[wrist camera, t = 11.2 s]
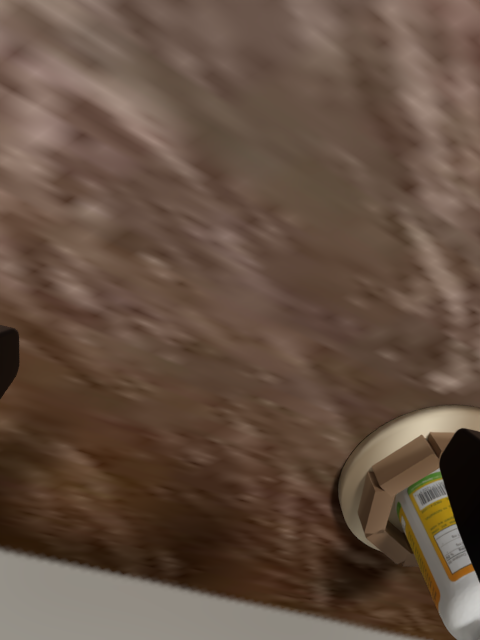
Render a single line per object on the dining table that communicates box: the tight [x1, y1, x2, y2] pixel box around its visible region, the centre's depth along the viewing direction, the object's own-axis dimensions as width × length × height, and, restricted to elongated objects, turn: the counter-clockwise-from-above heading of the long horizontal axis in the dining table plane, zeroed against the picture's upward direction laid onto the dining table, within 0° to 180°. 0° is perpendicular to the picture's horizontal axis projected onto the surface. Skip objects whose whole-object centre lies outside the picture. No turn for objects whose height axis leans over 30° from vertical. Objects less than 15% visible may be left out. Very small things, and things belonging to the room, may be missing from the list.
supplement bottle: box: [395, 468, 480, 640], centre depth 23 cm, size 5×5×10 cm
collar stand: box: [338, 405, 480, 566], centre depth 27 cm, size 12×12×2 cm
